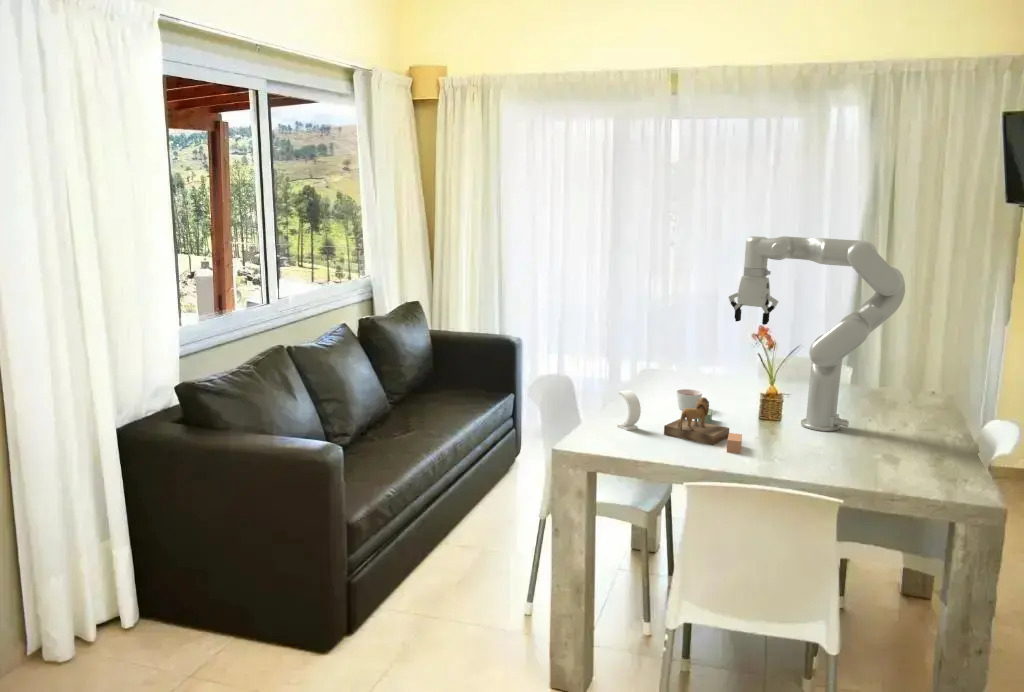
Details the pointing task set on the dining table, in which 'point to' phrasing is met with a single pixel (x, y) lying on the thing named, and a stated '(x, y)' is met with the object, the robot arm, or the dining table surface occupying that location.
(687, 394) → the candle
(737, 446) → the terracotta brick
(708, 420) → the sage brick
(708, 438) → the walnut plinth
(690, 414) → the lion figurine
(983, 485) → the dining table surface
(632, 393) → the white crescent moon figurine
